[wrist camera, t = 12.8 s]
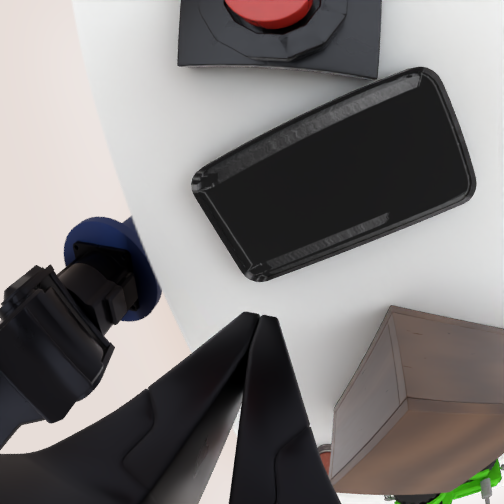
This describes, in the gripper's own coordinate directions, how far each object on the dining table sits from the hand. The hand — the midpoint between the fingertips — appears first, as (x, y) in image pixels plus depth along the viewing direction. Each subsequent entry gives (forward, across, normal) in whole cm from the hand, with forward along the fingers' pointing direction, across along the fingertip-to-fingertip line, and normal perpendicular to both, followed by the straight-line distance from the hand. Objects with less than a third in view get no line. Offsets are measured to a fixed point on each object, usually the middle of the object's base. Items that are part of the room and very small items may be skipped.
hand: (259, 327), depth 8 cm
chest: (+12, -13, +14) cm, 22 cm away
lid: (+4, -13, +14) cm, 19 cm away
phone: (+12, -2, -1) cm, 12 cm away
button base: (+12, +2, -10) cm, 16 cm away
